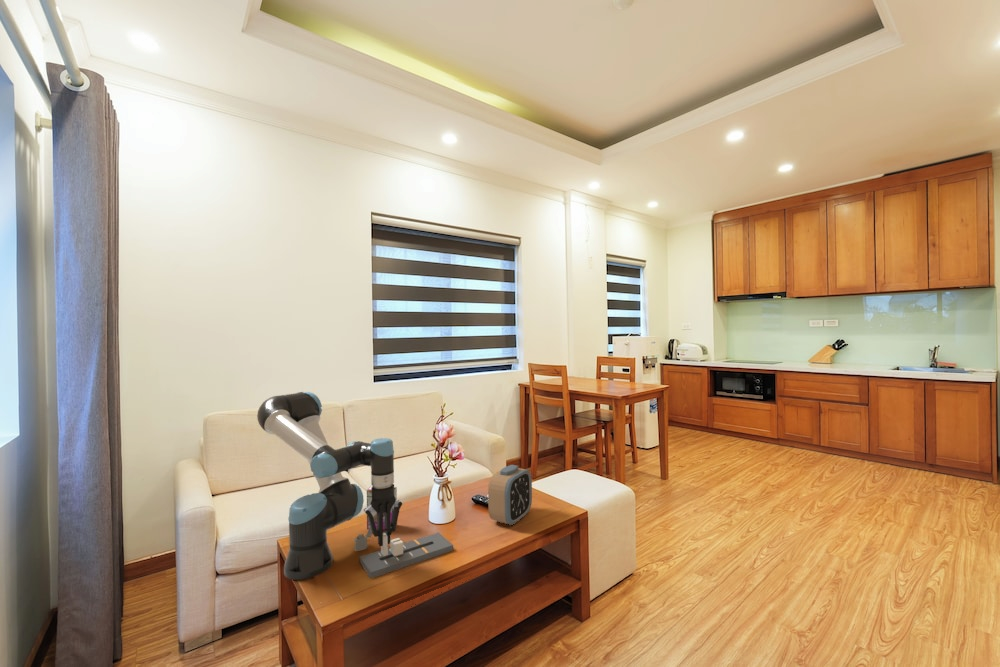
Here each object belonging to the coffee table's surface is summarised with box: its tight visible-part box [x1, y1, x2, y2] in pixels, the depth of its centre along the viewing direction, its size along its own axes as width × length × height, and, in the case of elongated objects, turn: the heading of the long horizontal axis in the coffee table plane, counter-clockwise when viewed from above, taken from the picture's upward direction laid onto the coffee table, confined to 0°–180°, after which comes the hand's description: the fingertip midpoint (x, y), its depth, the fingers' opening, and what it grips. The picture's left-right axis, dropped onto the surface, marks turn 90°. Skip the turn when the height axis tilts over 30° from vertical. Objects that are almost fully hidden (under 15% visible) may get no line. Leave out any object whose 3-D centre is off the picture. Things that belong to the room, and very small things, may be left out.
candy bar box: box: [366, 485, 398, 531], centre depth 172 cm, size 11×5×16 cm, turn 84°
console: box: [359, 532, 454, 579], centre depth 149 cm, size 30×12×2 cm, turn 124°
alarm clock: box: [487, 464, 533, 526], centre depth 178 cm, size 21×10×22 cm, turn 148°
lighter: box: [354, 527, 373, 552], centre depth 156 cm, size 7×2×8 cm, turn 117°
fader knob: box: [389, 537, 404, 557], centre depth 147 cm, size 3×4×6 cm
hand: (384, 553), depth 144 cm, fingers closed
